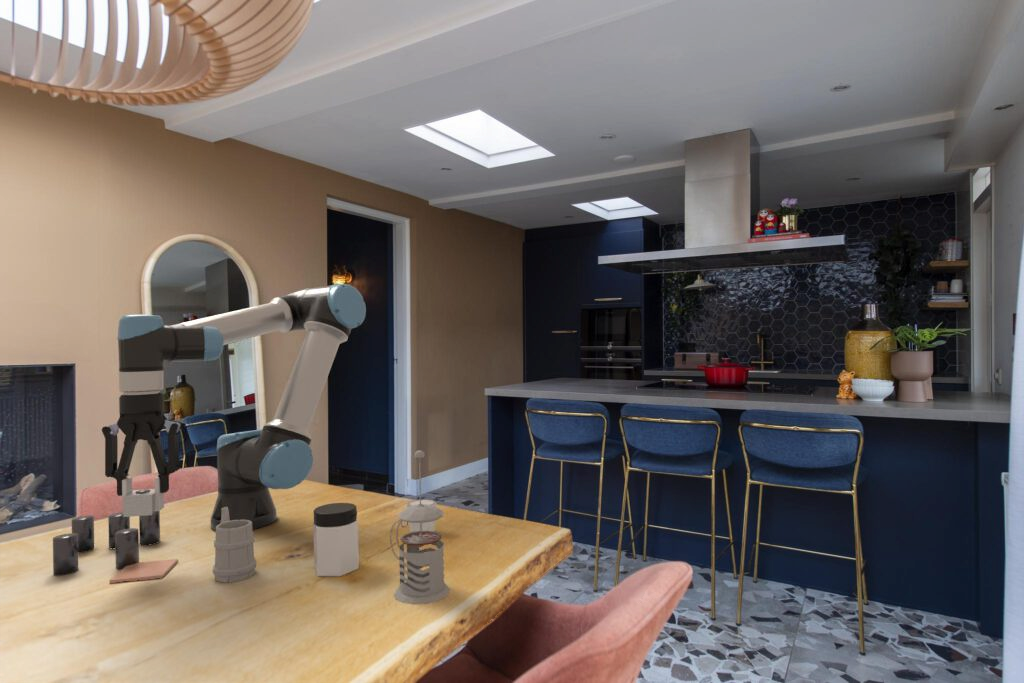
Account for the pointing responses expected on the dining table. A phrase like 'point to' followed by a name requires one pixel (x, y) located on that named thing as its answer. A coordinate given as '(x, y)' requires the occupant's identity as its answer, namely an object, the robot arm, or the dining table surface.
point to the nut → (139, 503)
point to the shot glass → (425, 526)
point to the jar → (335, 539)
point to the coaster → (144, 571)
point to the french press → (420, 555)
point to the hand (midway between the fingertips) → (143, 510)
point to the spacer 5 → (149, 528)
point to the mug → (233, 549)
